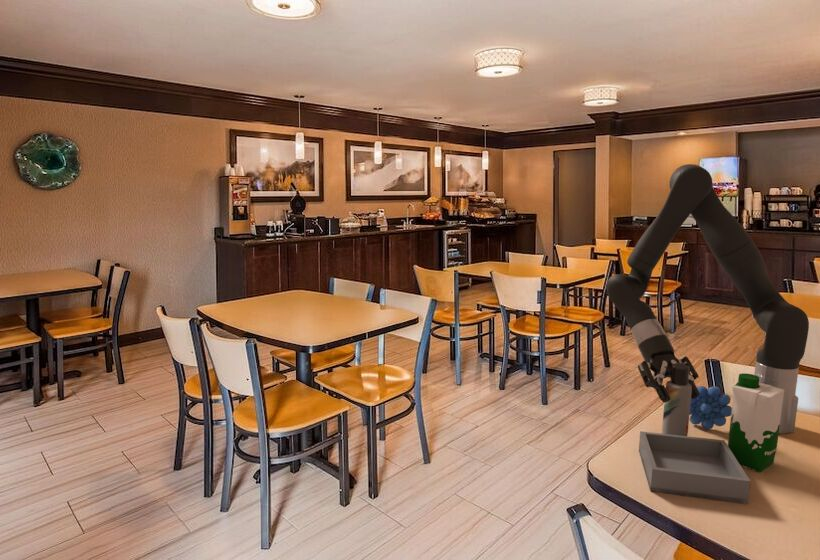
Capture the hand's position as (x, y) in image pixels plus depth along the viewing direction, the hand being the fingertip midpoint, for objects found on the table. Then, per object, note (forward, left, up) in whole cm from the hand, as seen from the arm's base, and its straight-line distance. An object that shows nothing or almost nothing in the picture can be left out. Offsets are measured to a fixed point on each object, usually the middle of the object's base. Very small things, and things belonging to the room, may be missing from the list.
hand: (681, 399), depth 132 cm
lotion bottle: (+1, -1, -12) cm, 12 cm away
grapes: (-9, -12, -12) cm, 19 cm away
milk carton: (-14, +5, -12) cm, 19 cm away
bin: (+1, +15, -12) cm, 19 cm away
